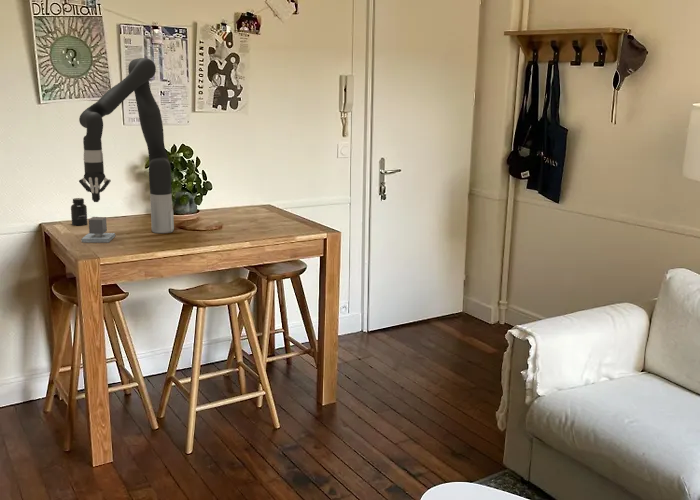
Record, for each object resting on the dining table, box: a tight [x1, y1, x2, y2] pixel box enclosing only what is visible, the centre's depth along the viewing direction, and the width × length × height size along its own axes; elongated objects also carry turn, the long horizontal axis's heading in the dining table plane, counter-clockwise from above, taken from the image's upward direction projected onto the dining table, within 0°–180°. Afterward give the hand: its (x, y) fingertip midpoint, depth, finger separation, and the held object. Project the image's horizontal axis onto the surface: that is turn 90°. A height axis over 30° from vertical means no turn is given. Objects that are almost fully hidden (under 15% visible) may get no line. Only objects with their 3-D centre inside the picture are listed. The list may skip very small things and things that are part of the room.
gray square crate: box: [88, 216, 108, 234], centre depth 298 cm, size 6×6×6 cm
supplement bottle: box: [70, 197, 88, 227], centre depth 325 cm, size 7×7×12 cm
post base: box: [80, 232, 116, 244], centre depth 299 cm, size 11×11×8 cm
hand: (96, 201), depth 296 cm, fingers closed
